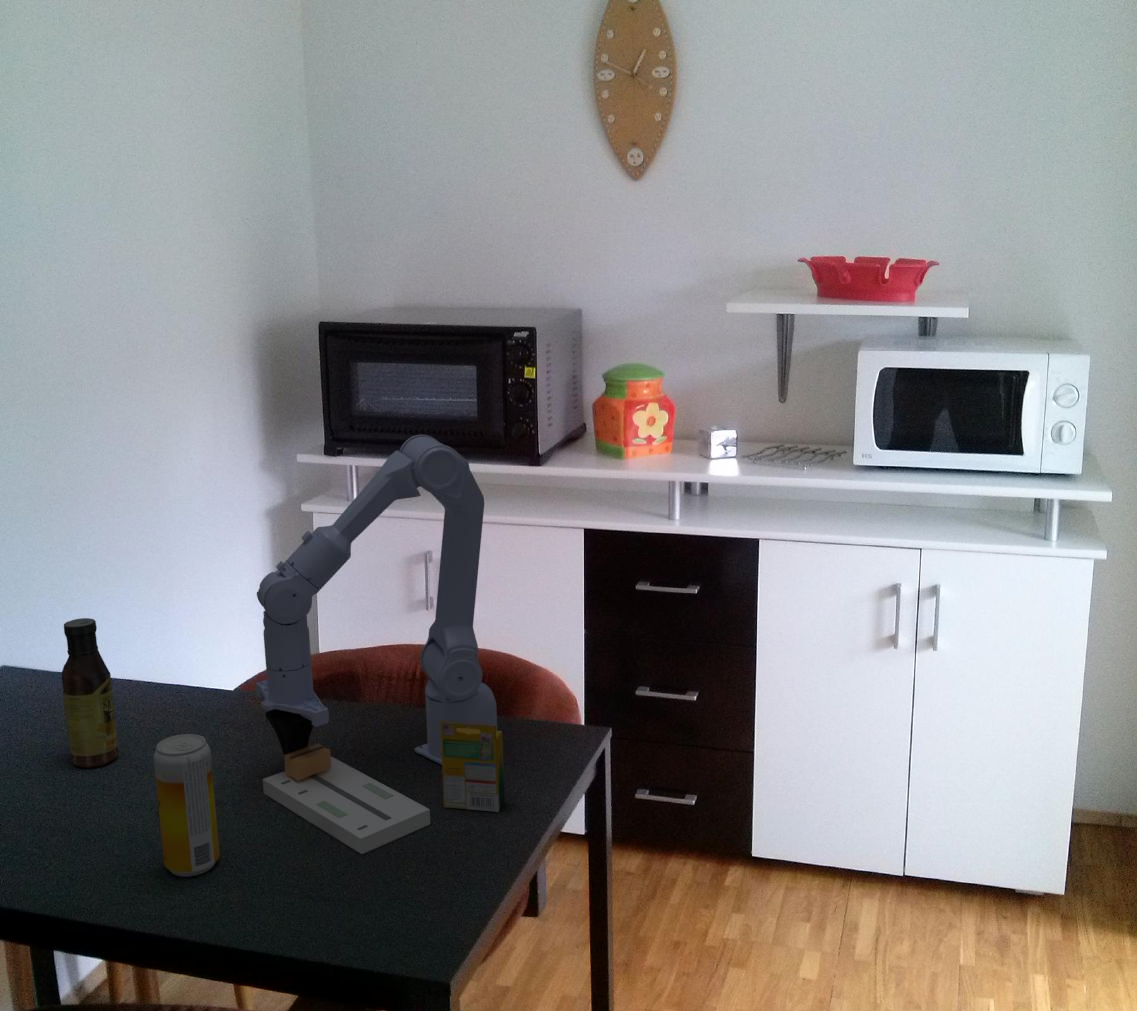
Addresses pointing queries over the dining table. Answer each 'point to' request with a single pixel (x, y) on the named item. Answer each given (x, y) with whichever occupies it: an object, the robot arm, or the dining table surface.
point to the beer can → (186, 804)
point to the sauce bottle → (88, 698)
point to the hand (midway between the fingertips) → (295, 761)
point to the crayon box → (472, 766)
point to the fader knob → (307, 761)
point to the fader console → (349, 806)
